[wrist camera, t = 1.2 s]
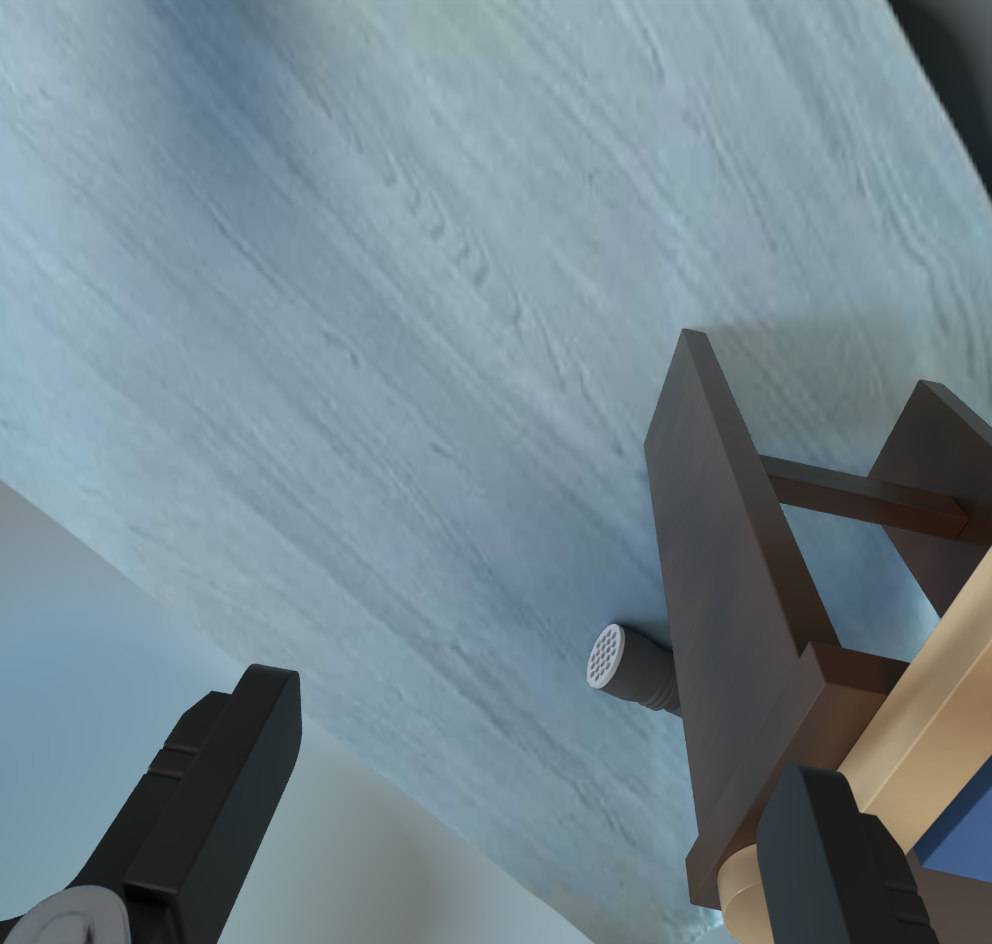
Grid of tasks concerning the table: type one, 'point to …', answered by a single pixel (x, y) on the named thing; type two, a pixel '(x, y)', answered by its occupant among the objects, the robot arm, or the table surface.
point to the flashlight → (634, 670)
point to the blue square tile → (962, 832)
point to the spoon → (904, 747)
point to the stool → (796, 601)
